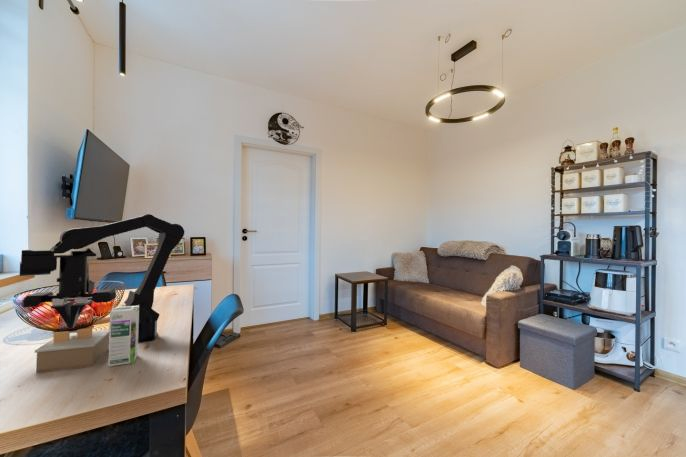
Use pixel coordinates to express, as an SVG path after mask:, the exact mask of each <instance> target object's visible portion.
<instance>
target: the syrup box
mask: <svg viewBox="0 0 686 457" xmlns="http://www.w3.org/2000/svg"><path fill="white" fill-rule="evenodd" d="M138 328H139V305H137V306H126V307H125V306H116V307H115V306H114V308H112V310H111V311H110V313H109V330H110V333H109V350H108V358H107V359H108V362H107V366H108V368H111V367H114V366H115V367H116V366H121V365H129V364H134V363H135V362H136V359H137V357H138V351H139V348H138V347H139V342H138Z"/></svg>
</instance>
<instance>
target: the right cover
mask: <svg viewBox="0 0 686 457" xmlns="http://www.w3.org/2000/svg"><path fill="white" fill-rule="evenodd" d="M109 333H110V329H103V330H102V329H101V330H93V327H89V328H78V329H77V330H76V332H70V337H69V340H74V339H85V338H96V337H103V338H104V337H105V336H106V335H108V334H109ZM48 342H53V338H52V339H51V340H49V341H48Z"/></svg>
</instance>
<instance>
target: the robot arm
mask: <svg viewBox="0 0 686 457" xmlns="http://www.w3.org/2000/svg"><path fill="white" fill-rule="evenodd" d="M142 228H147V229H150V230H151V231H153V232H155V233H157V234H158V238H157V247H156V250H155V252H154V255H153V257H152V258H151V260H150V263H149V265H148V267H147V269H146V272H145V274H144V276H143V278H142V280H141V282H140V284H139V287H138V288H137V289H136V290H135V291H133V290H129V292H128V295H127V297H126V300H125V301H124V302H123V303H124V304H125V306H124V307H126V306H137V305H139V328H138V343H139V342H140V343H141V342H148V341H149V342H150V341H154V340H155V339H156V338H157V336H158V334H159V332H157V331H158V329H157V328H158V320H159V317H160V313H159V312H157V311H156V310H154V309H153V306H154V300H155V297H154V296H155V289H156V287H157V286H158V283H159V281H160V278H161V275H162V274H163V271H164V269H165V267H166V265H167V262H168V260H169V258H170V255H171V254H172V252H173V250H174V249H175V248H176V247H177V246H178V244H179V243H180V242H181V240H182V239H183V237H184V236H185V232H186V231H185V229H184V227H183V226H182V225H181V224H180V223H179V224H178V223H170V222H168V221H166V220H164V219H161V218H158V217H156V216H154V215H153V214H150V213H148V214H142V215H140V216H136V217H132V218H128V219H123V220H120V221H116V222H115V221H114V222H111V223H107V224H103V225H98V226H88V227H78V228H69V229H66V230H64V231H63V232H62V233H61V234H60V236H59V241H58V242H57V243H55V244H54V246H52V247H51V248H50V249H46V250H45V249H44V250H43V249H42V250H41V249H40V250H39V249H38V250H33V249H22V250H21V255H20V256H21V257H20V261H19V277H33V276H47V275H51V274H52V272H54V271H57V267H58V258H59V273H58V274H59V275H58V277H57V278H56V283H58V292H57V293H56V294H54V293H53V292H52V291H45V292H33V293H31V294H28V295H26V296H24V297H23V299H22V302H21V303H22V305H21V306H22V308H31V307H32V308H33V307H35V308H36V307H39V306H41V305H42V303H52V305H51V306H50V309H54V310H55V311H56V312H57V313H58V315H60V317H61V319H62V320H63V321H64V323H65V325H66V326H67V327H68V329H74V328H75V327H76V325H77V322H78V320H79V319H80V317H81V316H80V315H81V313H82V312H83V310H84V308H86V306H87V305H90V304H91V303H92V302H94V303H95V304H97V303H98V304H99V303H110V302H112V301H113V300H115V299H116V298H117V292H116V290H115V289H114V288H110V289H109V288H107V289H106V288H105V289H99V290H96V291H94V289H95V284H96V282H95V281H92V280H90V278H89V277H90V276H89V274H88V257H96V256H97V254H96V253H95V252H94V251H92V250H91V248H89V247H88V246H90V245H92V244H95V243H97V242H99V241H101V240H103V239H105V238H108V237H112V236H113V237H114V236H116V235H120V234H123V233H128V232H131V231H134V230H135V231H136V230H139V229H142ZM86 247H87V248H86ZM83 248H85V250H81V249H83ZM69 251H70V253H69V254H65V253H66V252H69Z"/></svg>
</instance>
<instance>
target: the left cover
mask: <svg viewBox="0 0 686 457" xmlns="http://www.w3.org/2000/svg"><path fill="white" fill-rule="evenodd" d="M70 333H71V331H70V330H68V331H67V330H65V331H55V332H53V337H52V339H53V342H49V341H47V342H46V343H45V344H43V345H41V346H40V347H38V348H37V349H35V350H34V353H36V354H37V352H47V351H56V350H66V349H76V348H85V347H94V346H95V345H96V344H97V343H99V342H100V341H101V340H102V339H103V337H96V338H85V339H74V340H69V337H70Z"/></svg>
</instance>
